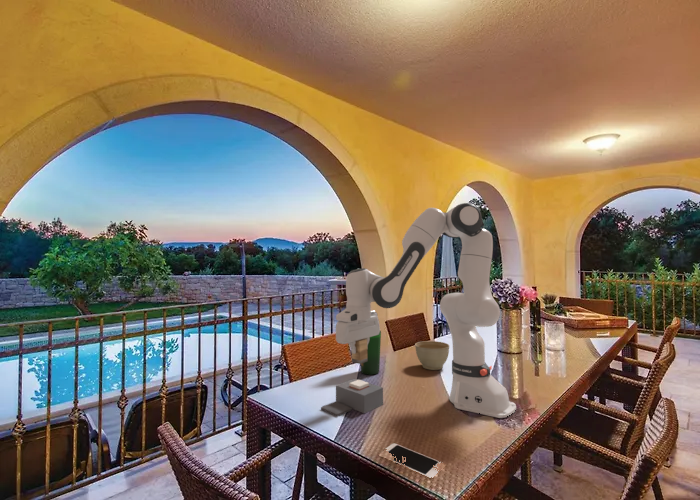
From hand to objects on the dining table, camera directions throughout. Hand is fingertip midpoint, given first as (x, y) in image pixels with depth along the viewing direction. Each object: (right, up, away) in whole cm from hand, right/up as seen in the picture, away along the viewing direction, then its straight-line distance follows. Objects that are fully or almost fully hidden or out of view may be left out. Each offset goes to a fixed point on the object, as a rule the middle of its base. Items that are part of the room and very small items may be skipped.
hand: (359, 351), depth 127 cm
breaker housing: (0, -19, -1) cm, 19 cm away
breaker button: (0, -16, 0) cm, 16 cm away
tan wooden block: (0, -4, 0) cm, 4 cm away
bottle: (+6, -20, +34) cm, 40 cm away
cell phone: (+12, -18, -36) cm, 42 cm away
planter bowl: (+36, -20, +41) cm, 58 cm away
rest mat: (-8, -19, -6) cm, 21 cm away
